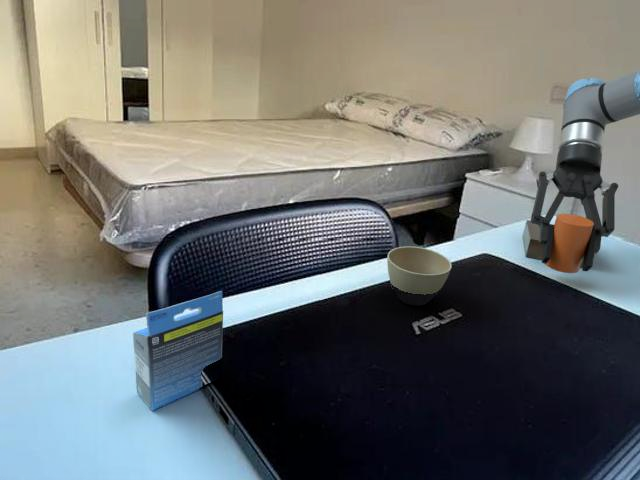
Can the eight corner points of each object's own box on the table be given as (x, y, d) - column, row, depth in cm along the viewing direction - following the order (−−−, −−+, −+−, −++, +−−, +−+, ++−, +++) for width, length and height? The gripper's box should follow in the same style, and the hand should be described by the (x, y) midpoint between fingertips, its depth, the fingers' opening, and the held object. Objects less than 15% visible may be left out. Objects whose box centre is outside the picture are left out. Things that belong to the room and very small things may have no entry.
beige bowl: (369, 296, 81) (374, 256, 78) (404, 278, 87) (410, 241, 85) (421, 323, 74) (430, 280, 72) (454, 301, 81) (463, 262, 79)
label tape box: (205, 364, 61) (204, 275, 57) (223, 381, 59) (224, 290, 54) (135, 393, 56) (128, 298, 51) (152, 414, 53) (146, 315, 48)
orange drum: (576, 262, 92) (590, 217, 89) (581, 276, 87) (597, 228, 84) (542, 255, 94) (555, 211, 90) (544, 268, 89) (558, 221, 85)
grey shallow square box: (580, 247, 109) (585, 230, 107) (589, 269, 98) (595, 250, 96) (522, 236, 112) (526, 219, 110) (525, 256, 101) (530, 238, 99)
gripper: (626, 171, 96) (618, 283, 88) (522, 156, 100) (505, 260, 92) (643, 149, 89) (636, 268, 81) (531, 134, 94) (513, 245, 86)
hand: (566, 264), depth 87 cm, fingers closed on orange drum, 6 cm apart
